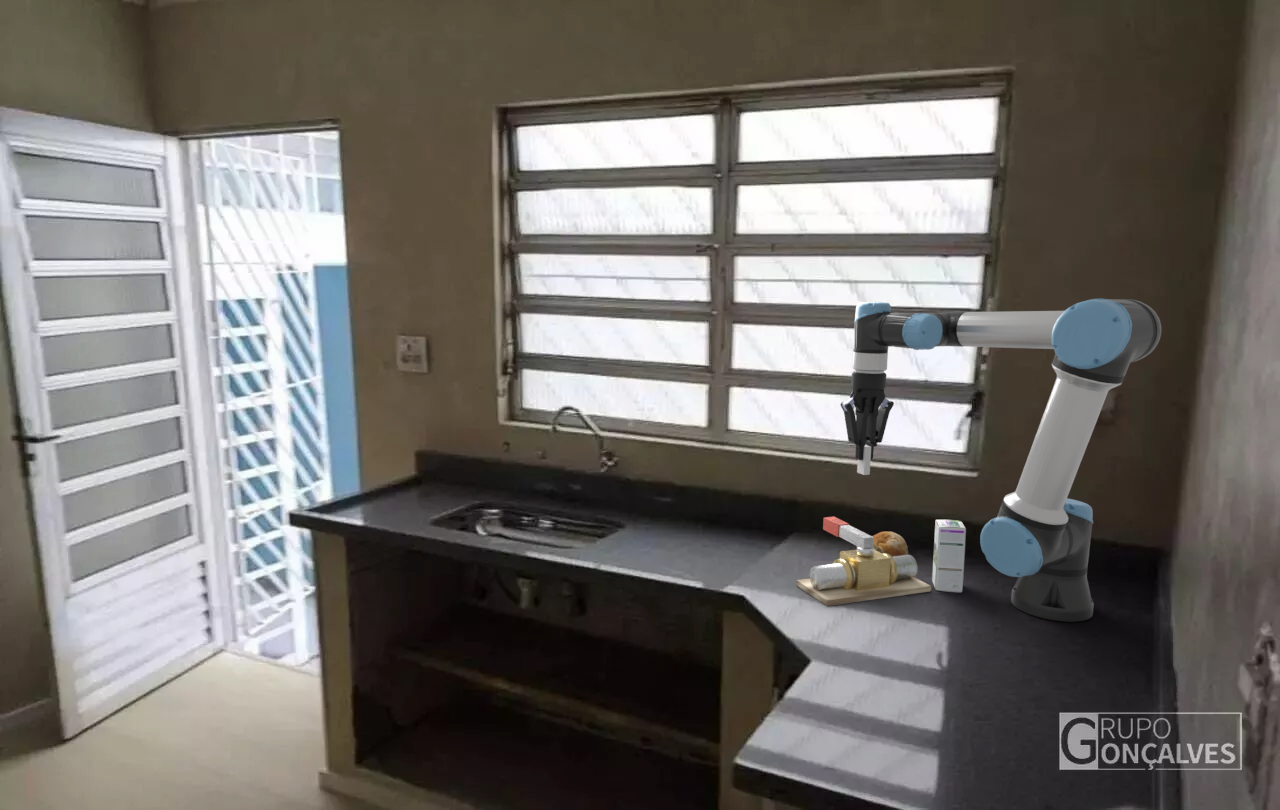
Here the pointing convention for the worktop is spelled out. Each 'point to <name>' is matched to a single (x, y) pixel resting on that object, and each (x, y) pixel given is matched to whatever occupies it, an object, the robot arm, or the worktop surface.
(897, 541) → the bread roll
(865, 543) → the lever
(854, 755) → the worktop surface
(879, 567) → the valve
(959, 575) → the syrup box
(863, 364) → the robot arm
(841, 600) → the mounting board
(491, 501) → the worktop surface
